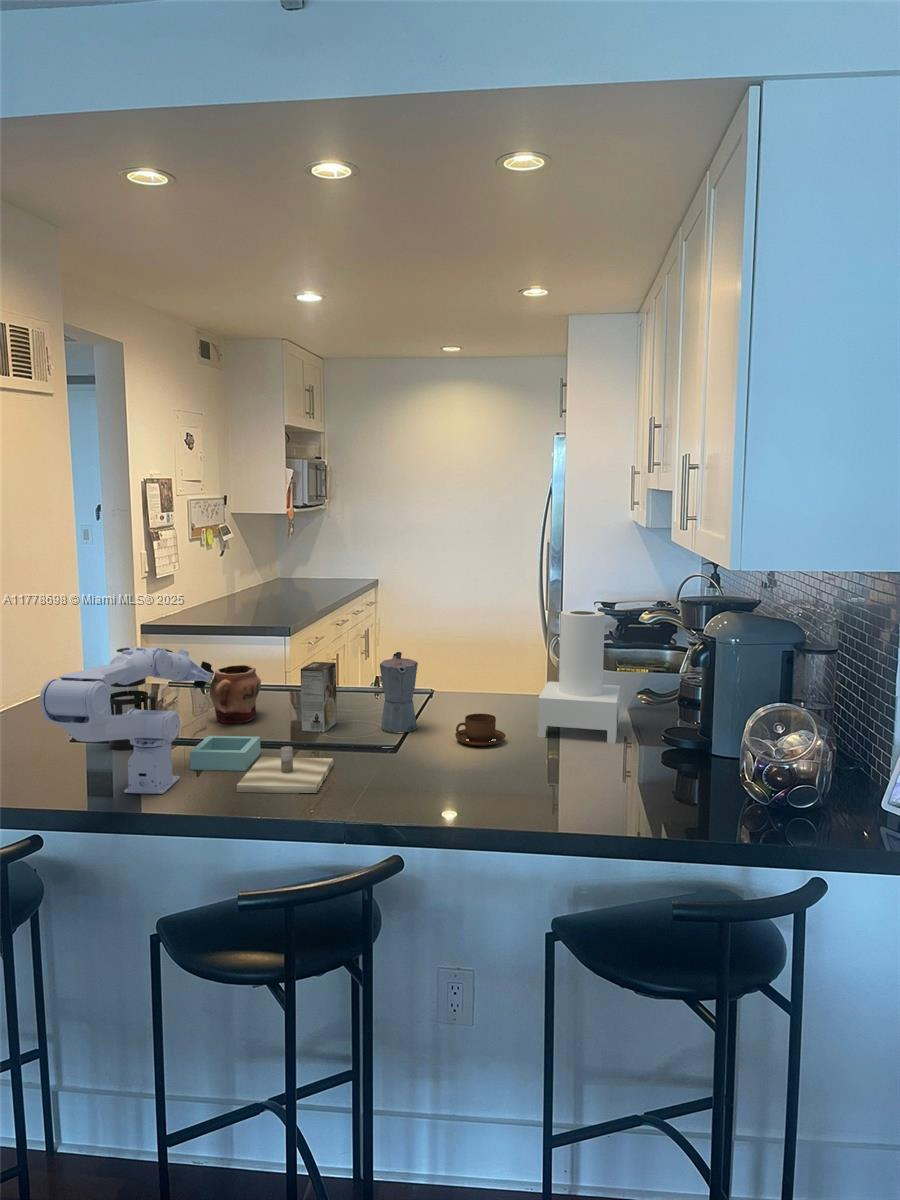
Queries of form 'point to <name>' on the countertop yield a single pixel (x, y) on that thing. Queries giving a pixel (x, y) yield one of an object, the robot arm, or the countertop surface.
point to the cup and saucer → (479, 730)
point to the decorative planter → (235, 693)
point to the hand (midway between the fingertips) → (196, 670)
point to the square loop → (225, 753)
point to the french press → (137, 701)
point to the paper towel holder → (580, 679)
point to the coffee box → (318, 696)
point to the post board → (286, 774)
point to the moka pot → (398, 694)
